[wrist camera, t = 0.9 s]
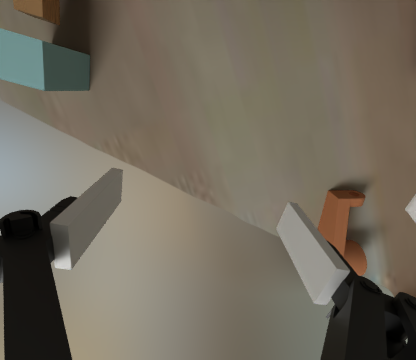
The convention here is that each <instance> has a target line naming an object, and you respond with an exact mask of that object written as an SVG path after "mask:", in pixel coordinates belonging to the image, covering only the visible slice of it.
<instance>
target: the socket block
mask: <svg viewBox="0 0 416 360" xmlns="http://www.w3.org/2000/svg"><path fill="white" fill-rule="evenodd" d="M89 77H90V55H87V54H84V53H81V52H77V51H74V50H71V49H68V48H64V47H61V46H58V45H54V44H51V43H48V42H45V41H41V40H38V39H35V38H31V37H28V36H24V35H21V34H18V33H14V32H11V31H7V30H4V29H1V28H0V79H2V80H6V81H9V82H13V83H17V84H21V85H25V86H28V87H32V88H36V89H40V90H43V91H85V90H89Z"/></svg>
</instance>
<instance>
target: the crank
mask: <svg viewBox="0 0 416 360" xmlns="http://www.w3.org/2000/svg"><path fill="white" fill-rule="evenodd" d="M364 200H365V195H364V194H363V193H360V192H358V191H354V190H333V191H328V193H327V197H326V201H325V204H324V208H323V211H322V215H321V219H320V222H319V226H318V231H319V232H320V233H321V234H322V236H323V237H324V238H325V239H326V241H329V242H330V243H331V244H332V245H334V246H335V247H336V249H337V250H338V251H339V252H340V254H341V255H342V256H343V257H344V259H345V260H346V261H347V262H348V263H349V265H350V266H351V267H352V268H353V269H354V271H355V272H356V273H357V274H358V276H361V275H363V274H364V273H365V271H366V269H367V260H366V256H365V253H364V251H363V249H362V248H361V247H360V245H359V244H358V243H356V242H355V241H353V240H346V234H347V225H348V217H349V209H350V207H359V206H362V205H363V202H364Z"/></svg>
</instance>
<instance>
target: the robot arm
mask: <svg viewBox="0 0 416 360" xmlns="http://www.w3.org/2000/svg"><path fill="white" fill-rule="evenodd" d="M122 174H123V170H121V169H116V168H111V169H110V170H109V171H108V172H107V173H106V174H105V175H103V176H102V177H101V178H100V179H99V180H98V181H97V182H95V183H94V184H93V185H92V186H91V187H90V188H89V189H88V190H87V191H85V192H84V193H83V194H82V195H81V196H80V197H79V198H77V197H71V196H70V197H68V198H66V199H63V200H61V201H60V202H59V203H58V204H56V205H55V206H54V207H52V208H51V209H50V211H47V212H46V213H45V214H44V215H42V216H41V215H40V213H39V212H36V211H34V210H20V211H16V212H12V213H9V214H7V215H5V216H4V217H2V218H1V219H0V231H1V235H2V236H0V283H3V291H4V350H5V351H4V352H5V360H72V357H71V352H70V348H69V343H68V339H67V334H66V330H65V326H64V321H63V317H62V312H61V308H60V303H59V299H58V295H57V290H56V286H55V281H54V277H53V273H52V268H51V264H50V263H51V262H52V261H53V260H54V262H55V268H62V269H69V270H72V268H73V267H74V266H75V264H76V263H77V261H78V260H79V259H80V257H81V256H82V254H83V253H84V252H85V250H86V249H87V248H88V246H89V245H90V243H91V242H92V241H93V239H94V238H95V237H96V235H97V234H98V232H99V231H100V230H101V228H102V227H103V226H104V224H105V223H106V221H107V220H108V219H109V217H110V216H111V215H112V213H113V212H114V210H115V209H116V207H117V206H118V205H119V203H120V202H121V192H122ZM276 229H277V231H278V233H279V235H280V237H281V239H282V241H283V243H284V245H285V247H286V249H287V251H288V253H289V255H290V257H291V259H292V261H293V263H294V265H295V267H296V269H297V271H298V273H299V275H300V277H301V279H302V281H303V283H304V285H305V287H306V289H307V291H308V293H309V295H310V297H311V299H312V301H313V303H314V304H322V305H326V304H327V303H328V302H329V300H330V299H331V298H332V300H333V301H334V303H335V305H334V306H333V308H332V309H331V311H330V312H329V313H328V315H327V316H326V318H329V317H330V320H329V325H328V329H327V333H326V337H325V342H324V346H323V351H322V355H321V360H416V298H415V297H413V296H411V295H409V294H406V293H403V292H399V293H398V294H397V295H396V296H395V298H394V297H391V296H389V295H386V294H384V293H382V291H381V290H380V288H379V287H378V286H377V285H376V284H375V283H373V282H372V281H370V280H369V279H367V278H365V277H362V276H358V274H357V273H356V272H355V271H354V269H353V268H352V267H351V266H350V265H349V263H348V262H347V261H346V260H345V259H344V257H343V256H342V255H341V254H340V252H339V251H338V250H337V249H336V247H335V246H334V245H332V244H331V243H330V242H329V241H326V239H325V238H324V237H323V236H322V234H321V233H320V232H319V231H318V229H317V228H316V227H315V226H314V224H313V223H312V222H311V221H310V219H309V218H308V217H307V215H306V214H305V213H304V212H303V210H302V209H301V208H300V207H299V205H298V204H297V203H292V202H288V204H287V206H286V208H285V210H284V213H283V215H282V217H281V219H280V221H279V224H278V226H277V228H276ZM407 338H408V342H407V344H406V341H405V340H406V339H407Z"/></svg>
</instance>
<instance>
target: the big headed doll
mask: <svg viewBox="0 0 416 360" xmlns="http://www.w3.org/2000/svg"><path fill="white" fill-rule="evenodd" d="M405 210H406V211H407V212H408V214H409V215H410V216H411V217H412V219H413V220H414V221H415V223H416V194H415V196H414V197H413V198H412V200H411V201H410V203H409V204H408V205H407V207H406V208H405Z"/></svg>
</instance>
